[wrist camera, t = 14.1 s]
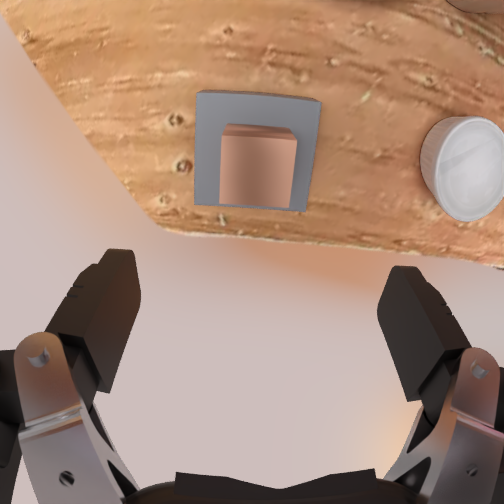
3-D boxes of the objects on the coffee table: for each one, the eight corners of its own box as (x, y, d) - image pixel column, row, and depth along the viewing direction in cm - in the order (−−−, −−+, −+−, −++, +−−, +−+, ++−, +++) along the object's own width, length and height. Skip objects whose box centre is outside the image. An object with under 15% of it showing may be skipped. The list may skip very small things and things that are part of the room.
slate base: (312, 98, 26) (321, 102, 23) (299, 195, 32) (305, 212, 28) (203, 89, 26) (196, 92, 23) (200, 188, 31) (194, 204, 28)
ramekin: (438, 88, 25) (467, 95, 20) (497, 141, 27) (525, 155, 23) (393, 175, 30) (415, 195, 26) (457, 215, 33) (479, 236, 28)
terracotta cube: (288, 127, 24) (297, 140, 20) (282, 183, 27) (288, 207, 23) (227, 123, 24) (221, 135, 20) (224, 180, 27) (219, 203, 22)
